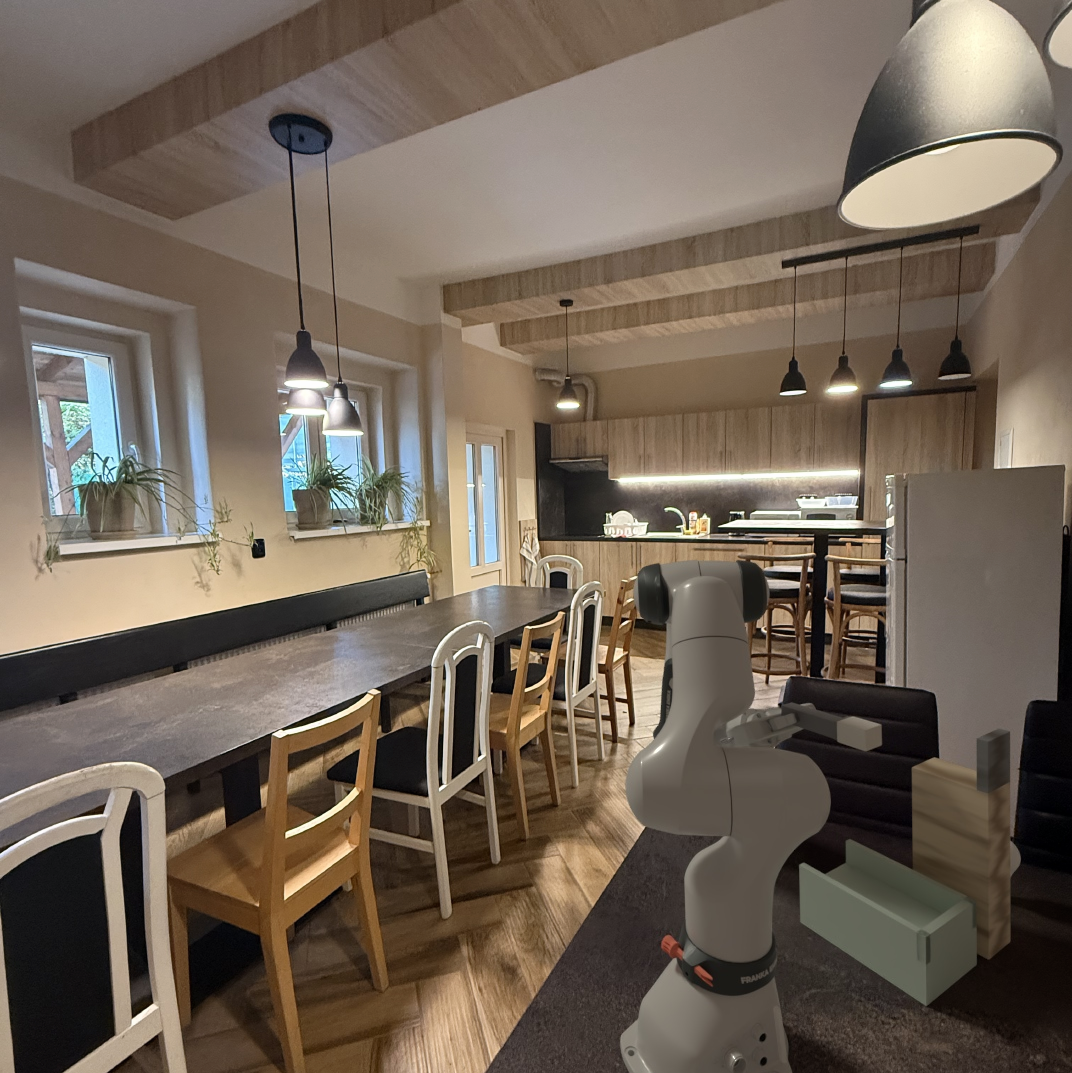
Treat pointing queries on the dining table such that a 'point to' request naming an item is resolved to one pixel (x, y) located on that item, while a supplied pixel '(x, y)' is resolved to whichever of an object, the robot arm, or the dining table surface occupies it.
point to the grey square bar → (837, 726)
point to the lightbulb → (1014, 858)
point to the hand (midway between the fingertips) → (804, 714)
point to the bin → (892, 920)
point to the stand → (968, 833)
